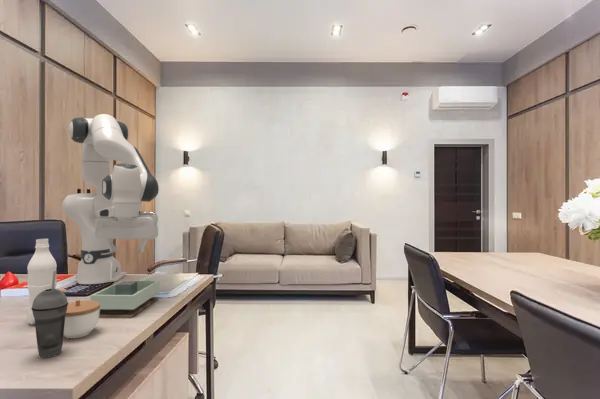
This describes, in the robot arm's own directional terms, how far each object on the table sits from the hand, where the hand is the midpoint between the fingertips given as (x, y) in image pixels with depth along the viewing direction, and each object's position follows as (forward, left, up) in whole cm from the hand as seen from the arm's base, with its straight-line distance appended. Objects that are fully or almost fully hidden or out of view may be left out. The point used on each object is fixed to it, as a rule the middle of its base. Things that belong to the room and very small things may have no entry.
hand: (127, 252), depth 120 cm
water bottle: (+15, -18, -19) cm, 30 cm away
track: (0, -3, -19) cm, 19 cm away
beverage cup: (+35, -1, -19) cm, 40 cm away
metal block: (0, 0, -16) cm, 16 cm away
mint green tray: (0, 0, -17) cm, 18 cm away
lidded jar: (+23, -2, -19) cm, 30 cm away
